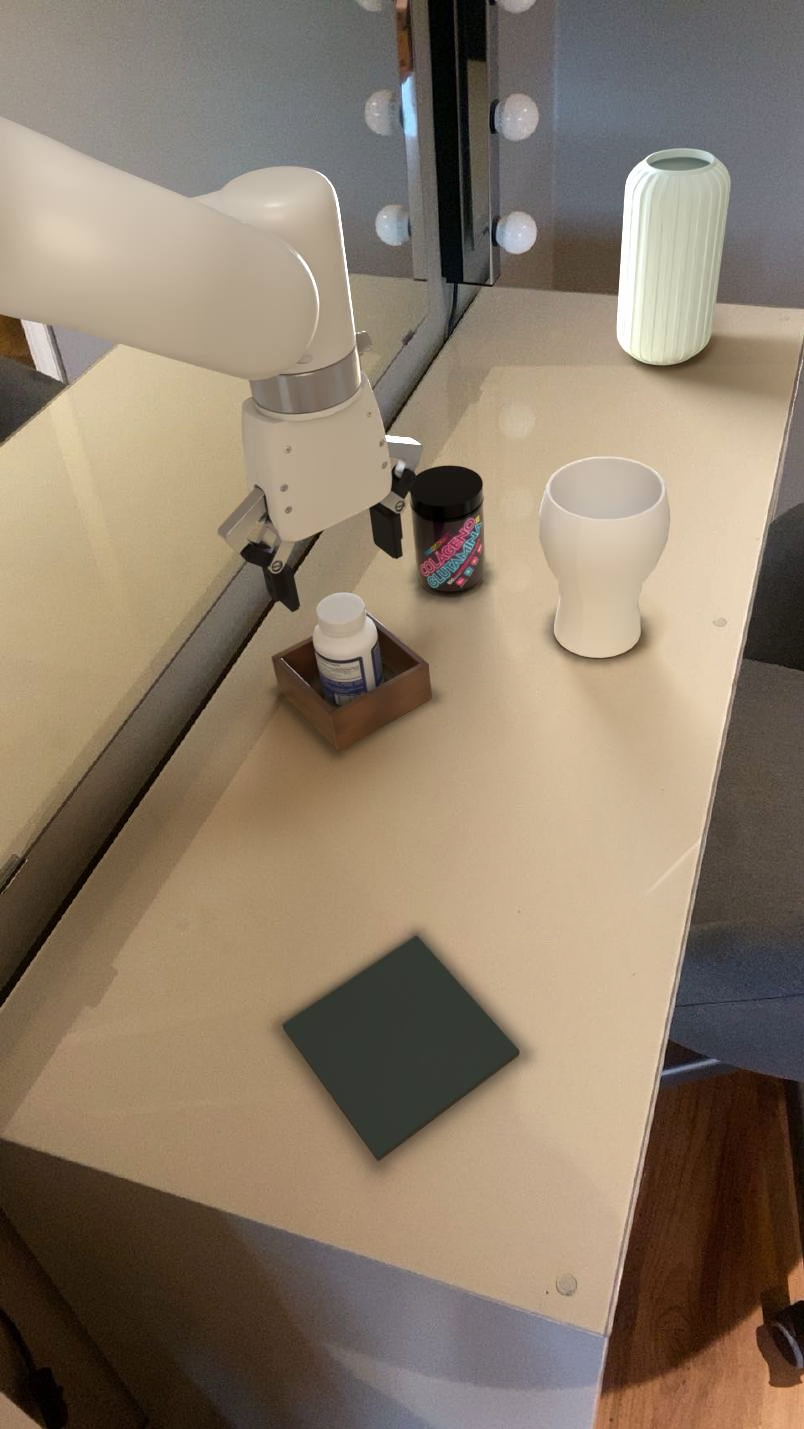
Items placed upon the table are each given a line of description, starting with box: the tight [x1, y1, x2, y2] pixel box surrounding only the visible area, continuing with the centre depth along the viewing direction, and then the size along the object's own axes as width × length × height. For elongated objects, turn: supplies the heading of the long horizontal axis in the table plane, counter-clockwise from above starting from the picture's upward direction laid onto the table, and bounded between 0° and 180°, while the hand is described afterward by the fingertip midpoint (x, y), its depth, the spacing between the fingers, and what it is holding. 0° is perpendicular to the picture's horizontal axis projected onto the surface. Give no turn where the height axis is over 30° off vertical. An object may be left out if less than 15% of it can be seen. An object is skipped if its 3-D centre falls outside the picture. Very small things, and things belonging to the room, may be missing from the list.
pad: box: [281, 935, 520, 1161], centre depth 67 cm, size 11×11×1 cm
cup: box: [538, 455, 671, 659], centre depth 89 cm, size 11×11×15 cm
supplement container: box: [408, 464, 487, 597], centre depth 98 cm, size 7×7×10 cm
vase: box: [616, 147, 732, 366], centre depth 124 cm, size 12×12×22 cm
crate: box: [271, 609, 433, 752], centre depth 90 cm, size 10×10×4 cm
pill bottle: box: [312, 592, 385, 710], centre depth 88 cm, size 5×5×10 cm
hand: (338, 576), depth 83 cm, fingers open, 9 cm apart
